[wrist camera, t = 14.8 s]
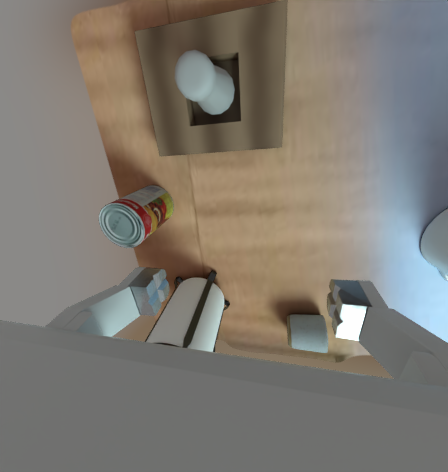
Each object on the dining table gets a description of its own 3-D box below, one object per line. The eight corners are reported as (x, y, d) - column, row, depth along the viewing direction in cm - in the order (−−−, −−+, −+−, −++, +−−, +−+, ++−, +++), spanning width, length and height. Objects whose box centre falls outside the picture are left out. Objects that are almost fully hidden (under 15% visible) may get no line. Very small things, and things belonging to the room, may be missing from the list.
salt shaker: (195, 79, 32) (155, 50, 21) (230, 64, 30) (208, 23, 19) (207, 121, 34) (177, 115, 23) (240, 108, 33) (226, 96, 21)
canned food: (142, 220, 46) (106, 246, 36) (135, 184, 43) (92, 202, 32) (176, 222, 45) (148, 249, 34) (171, 185, 41) (138, 204, 31)
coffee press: (164, 296, 56) (73, 445, 29) (189, 255, 48) (96, 404, 22) (220, 327, 57) (180, 495, 31) (252, 292, 50) (236, 474, 23)
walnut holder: (284, 16, 28) (287, -1, 24) (280, 145, 35) (282, 147, 31) (149, 42, 32) (134, 31, 28) (169, 154, 39) (159, 156, 35)
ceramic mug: (284, 307, 50) (287, 335, 43) (321, 307, 48) (330, 337, 41) (287, 337, 55) (289, 367, 48) (320, 338, 53) (328, 369, 46)
